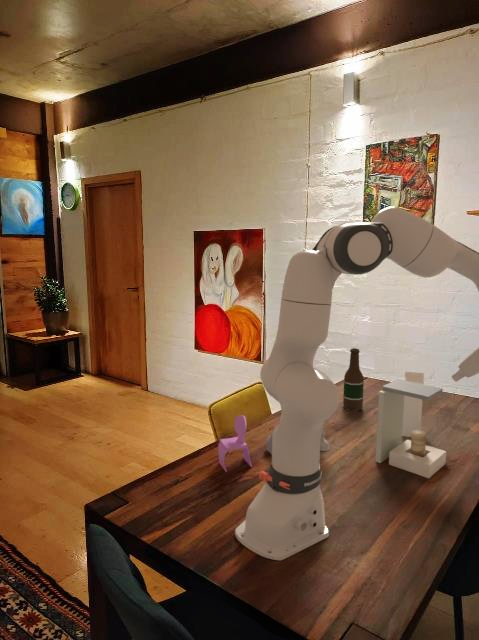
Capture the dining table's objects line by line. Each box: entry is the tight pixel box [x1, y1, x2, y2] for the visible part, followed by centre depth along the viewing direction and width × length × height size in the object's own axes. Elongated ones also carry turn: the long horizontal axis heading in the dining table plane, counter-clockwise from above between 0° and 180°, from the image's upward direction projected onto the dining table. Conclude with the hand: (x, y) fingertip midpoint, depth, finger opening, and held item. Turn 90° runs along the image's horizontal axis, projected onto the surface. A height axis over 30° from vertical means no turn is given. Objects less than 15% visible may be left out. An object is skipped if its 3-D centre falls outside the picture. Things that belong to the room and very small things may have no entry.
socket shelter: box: [375, 378, 447, 479], centre depth 139 cm, size 14×16×23 cm
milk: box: [402, 371, 425, 438], centre depth 159 cm, size 6×6×22 cm
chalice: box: [320, 419, 331, 452], centre depth 149 cm, size 7×7×18 cm
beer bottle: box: [342, 348, 365, 412], centre depth 184 cm, size 8×8×24 cm
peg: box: [410, 430, 427, 457], centre depth 138 cm, size 4×4×10 cm
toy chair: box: [217, 414, 253, 473], centre depth 138 cm, size 8×9×15 cm
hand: (461, 374), depth 121 cm, fingers open, 8 cm apart
